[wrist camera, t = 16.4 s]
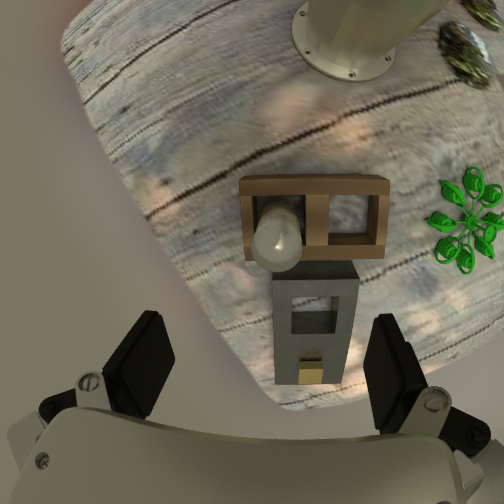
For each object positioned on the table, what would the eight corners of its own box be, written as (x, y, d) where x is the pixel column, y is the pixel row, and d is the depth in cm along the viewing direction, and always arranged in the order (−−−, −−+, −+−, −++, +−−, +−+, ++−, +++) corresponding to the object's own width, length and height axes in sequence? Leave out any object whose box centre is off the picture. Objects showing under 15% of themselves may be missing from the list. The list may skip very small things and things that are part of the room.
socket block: (274, 261, 35) (271, 280, 30) (351, 260, 33) (359, 279, 29) (276, 361, 42) (274, 384, 37) (337, 360, 40) (340, 383, 36)
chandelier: (402, 218, 31) (425, 237, 24) (465, 142, 25) (496, 146, 19) (452, 284, 33) (473, 308, 27) (507, 217, 27) (533, 232, 21)
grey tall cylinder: (263, 195, 32) (249, 225, 21) (297, 194, 31) (302, 224, 20) (265, 227, 33) (252, 272, 22) (297, 227, 33) (302, 271, 22)
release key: (299, 338, 39) (299, 369, 33) (320, 337, 38) (323, 368, 32) (298, 353, 40) (298, 384, 34) (318, 352, 39) (321, 383, 34)
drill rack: (244, 176, 31) (238, 180, 27) (378, 175, 29) (390, 180, 25) (250, 247, 34) (245, 260, 31) (374, 245, 32) (383, 258, 29)
